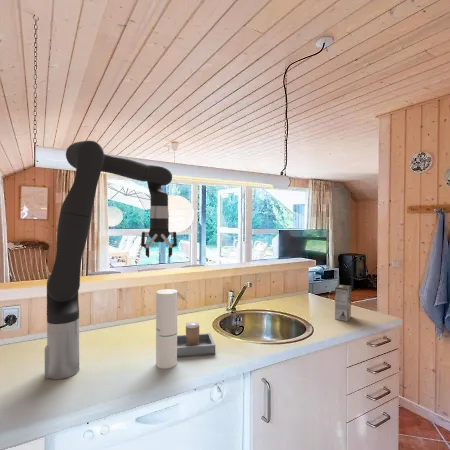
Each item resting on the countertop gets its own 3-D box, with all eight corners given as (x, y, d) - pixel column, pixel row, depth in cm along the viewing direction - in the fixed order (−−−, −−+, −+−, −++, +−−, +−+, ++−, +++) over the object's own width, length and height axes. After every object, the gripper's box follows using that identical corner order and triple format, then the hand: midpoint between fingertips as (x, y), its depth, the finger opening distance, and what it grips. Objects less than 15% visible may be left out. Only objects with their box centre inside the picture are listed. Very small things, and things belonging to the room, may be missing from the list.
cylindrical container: (167, 356, 112) (168, 288, 112) (181, 362, 108) (181, 291, 107) (151, 364, 107) (151, 291, 106) (165, 370, 102) (165, 295, 102)
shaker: (186, 350, 116) (186, 326, 116) (185, 345, 121) (185, 322, 121) (200, 349, 117) (200, 325, 117) (198, 343, 122) (198, 321, 122)
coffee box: (338, 314, 165) (338, 284, 164) (351, 316, 161) (351, 285, 161) (334, 319, 157) (334, 287, 156) (347, 321, 153) (348, 289, 153)
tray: (174, 357, 112) (174, 348, 112) (172, 344, 124) (172, 335, 123) (215, 354, 115) (215, 345, 115) (210, 341, 127) (210, 333, 127)
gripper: (140, 217, 122) (140, 258, 122) (177, 217, 125) (177, 258, 125) (141, 217, 129) (141, 256, 130) (176, 217, 132) (176, 255, 133)
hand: (159, 257), depth 127 cm, fingers open, 8 cm apart
